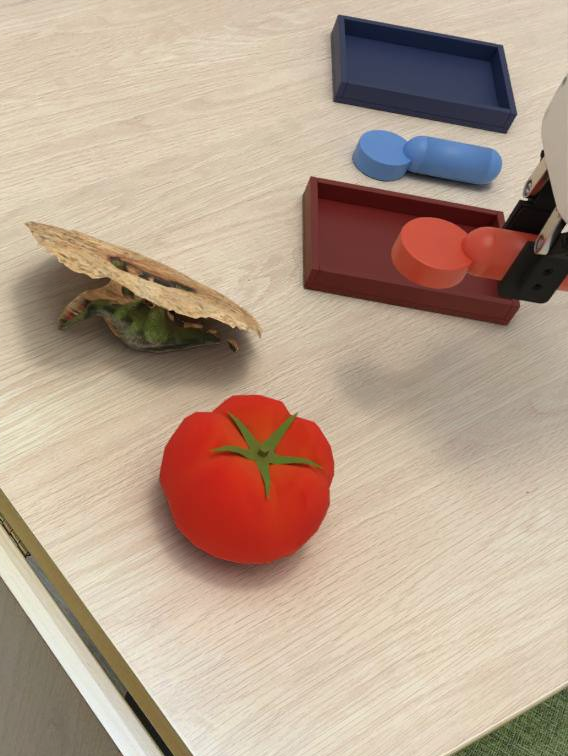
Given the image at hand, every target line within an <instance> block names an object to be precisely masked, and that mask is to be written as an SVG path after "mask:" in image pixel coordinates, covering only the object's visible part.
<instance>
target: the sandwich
mask: <svg viewBox="0 0 568 756" xmlns="http://www.w3.org/2000/svg"><path fill="white" fill-rule="evenodd" d="M23 224H24V225H25V226H26V227H27V228H28V229H29V231H30V233H31V235H32V237H33V238H35V241H36V242H37V244H36V245H37V246H40V247H42V248H44V251H45V252H48V253H49V254H50V255H52V256H56V258H57V261H58V263H61V264H63V265H64V266H65V267H66V268H68V269H69V270H70V271H73V272H74V273H78V274H84V275H86V276H88V277H89V278H91V279H92V280H93V279H102V278H108V279H109V281H108V282H107V284H105V285H104V286H101V287H98V288H90V289H87V290H85V291H83V292H81V293H80V294H78V295H77V296H76V297H75V298H73V299H72V300H71V301H70V302H69V303H68V304H67V305H66V306H65V307H64V308H63V310H62V311H61V314H60V315H59V318H58V321H57V322H56V323H57V324H56V327H57V329H58V330H64V329H65V328H67V327H69V326H70V325H72V323H73V322H76V321H83V320H87V319H90V318H92V317H95V316H97V317H98V316H100V317H102V318H103V319H104V321H105V322H106V324H107V326H108V327H109V329H110V330H111V332H112V333H113V334H114V335H115V336H116V337H117V338H118V339H119V340H120V341H121V342H123V343H124V344H125V345H127V346H128V347H129V348H131V349H133V350H135V351H142V352H150V353H154V354H161V355H163V354H166V353H170V352H177V351H182V350H187V349H189V348H197V347H200V346H201V347H202V346H210V345H211V346H212V345H220V344H221V342H222V339H221V338H220V337H219V336H217V335H216V334H217V333H218V331H217V330H216V329H213V328H212V329H207V332H205V331H203V330H202V329H203V327H204V326H203V325H202V324H201V323H198V322H191V321H187V320H182V319H180V318H179V317H178V316H177V314H178V315H181V316H186V317H189V318H193V319H199V318H204V319H208V318H211V319H213V320H217V321H219V322H221V323H223V324H226V325H228V326H230V327H231V328H232V329H234V328H236V327H237V328H238V329H239V330H240V332H241V331H242V332H243V333H244V332H245V333H247V334H250V333H251V331H253V333H254V336H258V338H259V340H262V334H265V335H266V333H265V331H264V329H263V328H262V326H261V324H259V322H258V320H257V319H256V318H255V317H254V315H253V314H252V313H250V311H248V309H246V308H244V307H242V306H240V305H239V304H238V303H236V302H235V301H233V300H232V299H230V298H229V297H227V296H226V295H225V294H223V293H221V292H220V291H218V290H216V289H213V288H211V287H209V286H208V285H205V284H203V283H201V282H199V281H197V280H195V279H193V278H192V277H190V276H188V275H186V274H185V273H183V272H181V271H180V270H177V269H175V268H173V267H171V266H168V264H167V265H166V264H165V263H162V262H161V261H158V260H155V259H153V258H151V257H148V256H146V255H143V254H141V253H139V252H136V251H134V250H130V249H127V248H125V247H122V246H119V245H116V244H113V243H110V242H107V241H104V240H101V239H99V238H97V237H93V236H92V235H89V234H86V233H83V232H81V231H77V230H74V229H73V230H72V229H66V228H63V227H59V226H55V225H51V224H47V223H41V222H37V221H27V222H24V223H23ZM145 301H149V302H151V304H148V303H146V302H145ZM225 341H226V344H227V345H228V347H229V349H230V351H231V352H232V353H237V352H238V349H239V346H238V344H237V342H236V341H235V339H234V338H232V337H231V338H226V340H225Z"/></svg>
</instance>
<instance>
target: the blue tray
mask: <svg viewBox="0 0 568 756" xmlns="http://www.w3.org/2000/svg"><path fill="white" fill-rule="evenodd" d="M330 45H331V48H330V49H331V71H332V95H333V102H334V103H335V102H336V103H339V104H340V103H341V104H347V105H352V106H357V107H362V108H368V109H374V110H378V111H383V112H384V111H385V112H389V113H394V114H402V115H404V116H411V117H416V118H422V119H427V120H433V121H437V122H442V123H443V122H444V123H448V124H454V125H459V126H460V125H461V126H463V127H470V128H475V129H480V130H487V131H492V132H495V133H496V132H497V133H502V134H507V133H508V131H509V130H510V128H511V127H512V125H513V123H514V122H515V119H516V118H517V116H518V110H517V105H516V99H515V95H514V90H513V86H512V82H511V77H510V73H509V72H510V71H509V67H508V63H507V57H506V52H505V48H504V45H503V44H499V43H495V42H491V41H490V42H489V41H484V40H479V39H474V38H468V37H462V36H457V35H453V34H447V33H441V32H436V31H430V30H426V29H419V28H414V27H410V26H409V27H408V26H404V25H398V24H394V23H386V22H383V21H377V20H372V19H366V18H361V17H356V16H351V15H345V14H339V13H338V14H337V16H336V19H335V22H334V25H333V27H332V29H331V32H330Z"/></svg>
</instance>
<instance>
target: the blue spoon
mask: <svg viewBox="0 0 568 756" xmlns="http://www.w3.org/2000/svg"><path fill="white" fill-rule="evenodd" d="M352 161H353V164H354V165H355V167H356V168H357V170H359V171H360V172H361V173H362V174H364V175H366V176H368V177H369V178H372V179H375V180H378V181H384V182H392V181H397V180H400V179H401V178H402V177H404V176H405V175H406V173H407V171H408V172H411V173H413V174H419V175H425V176H430V177H436V178H441V179H447V180H452V181H457V182H463V183H467V184H474V185H487V184H490V183H491V182H493V181H494V180H496V179H497V177H498V176H499V175H500V174H501V172H502V168H503V159H502V156H501V154H500V153H499V152H498V150H496V149H494V148H491V147H488V146H482V145H477V144H471V143H467V142H462V141H461V142H460V141H456V140H451V139H444V138H441V137H440V138H439V137H433V136H428V135H417V136H414V137H412V138H410V139H409V140H407V139H405V138H404V137H402V136H401V135H399V134H397V133H396V132H392V131H389V130H385V129H371V130H368V131H366V132H363V134H361V136H360V137H359V139H358V142H357V144H356V146H355V148H354V150H353V153H352Z"/></svg>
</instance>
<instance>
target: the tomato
mask: <svg viewBox="0 0 568 756" xmlns="http://www.w3.org/2000/svg"><path fill="white" fill-rule="evenodd" d="M298 414H299V411H297V412H296V413H293V414H291V413H290V412H289V410H288V408H287V406H286V405H285V404H284V402H283V401H282V400H278V399H275V398H272V397H269V396H265V395H262V394H235V395H231V396H229V397H228V398H226V399H225V400H224V401H222V402H221V403H220V404H219V405H218V406H216V407H215V408H213V410H212V411H194V412H193V413H191V414H189V415H188V416H185V417H184V418H183V419H182V421H181V422H180V424H179V425H178V426H177V428H176V429H175V430H174V432H173V433H172V435H171V436H170V438H169V439H168V441H167V442H166V444H165V445H164V449H163V454H162V459H161V464H160V469H159V477H158V481H159V485H160V486H161V489H162V492H163V493H164V495H165V497H166V500H167V503H168V506H169V509H170V512H171V515H172V518H173V521H174V524H175V527H176V529H177V530H178V531H179V532H180V533H181V534H182V535H183V536H184V537H185V538H186V539H187V540H188V541H189V542H190V543H191V545H193V546H194V547H195V548H198V549H200V550H201V551H203V552H205V553H206V554H208V555H210V556H212V557H213V558H216V559H220V560H225V561H228V562H232V563H237V564H253V565H254V564H255V565H257V564H258V565H259V564H261V565H263V564H267V563H272V562H275V561H277V560H280V559H283V558H286V557H289V556H291V555H294V554H295V553H296V552H297V551H299V550H300V549H301V548H302V547H303V546H304V545H305V544H306V543H307V542H308V541H309V540H311V538H312V537H313V536H315V534H317V532H318V531H319V529H320V527H321V525H322V524H323V521H324V520H325V518H326V516H327V513H328V510H329V508H330V505H331V490H330V488H331V485H332V483H333V479H334V476H335V458H334V454H333V449H332V445H331V444H330V442H329V440H328V439H327V438H326V436H325V434H324V432H323V431H322V429H321V428H320V426H319V425H318V424H317V423H316V422H315V421H313V420H310V419H307V418H304V417H300V416H298Z"/></svg>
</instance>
